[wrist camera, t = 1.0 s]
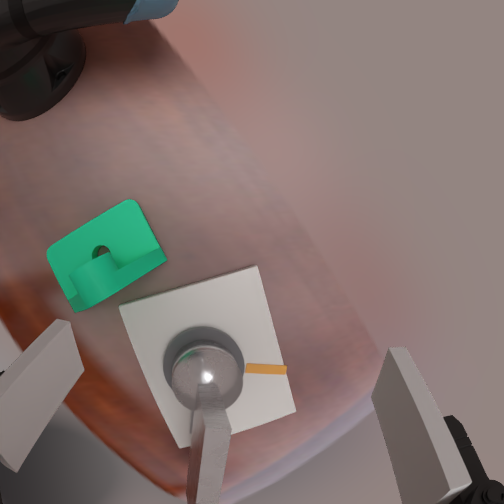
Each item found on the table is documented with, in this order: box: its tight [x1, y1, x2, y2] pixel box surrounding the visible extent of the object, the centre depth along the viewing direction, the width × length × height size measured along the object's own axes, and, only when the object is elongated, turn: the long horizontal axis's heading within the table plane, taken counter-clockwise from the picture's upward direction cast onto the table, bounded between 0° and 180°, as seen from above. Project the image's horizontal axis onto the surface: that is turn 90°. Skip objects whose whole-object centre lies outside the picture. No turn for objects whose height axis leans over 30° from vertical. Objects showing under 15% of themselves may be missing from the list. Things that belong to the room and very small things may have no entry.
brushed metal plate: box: [172, 340, 243, 504], centre depth 26 cm, size 20×7×12 cm, turn 171°
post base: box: [118, 265, 296, 448], centre depth 34 cm, size 20×16×3 cm
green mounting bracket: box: [47, 199, 167, 313], centre depth 27 cm, size 12×8×10 cm, turn 118°
